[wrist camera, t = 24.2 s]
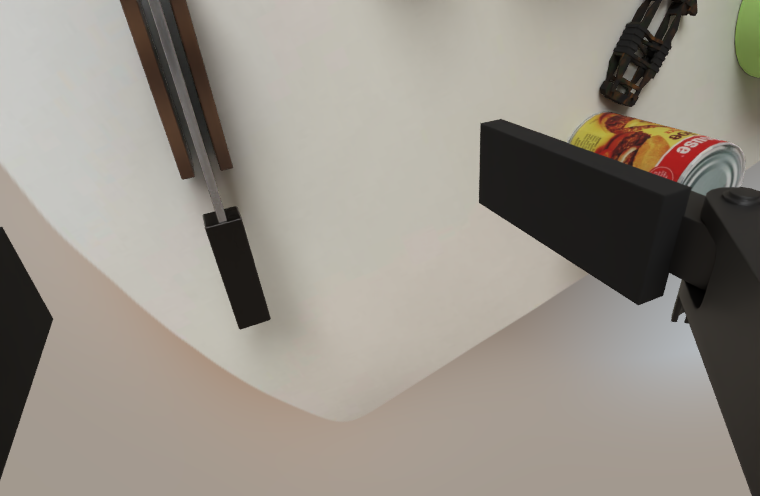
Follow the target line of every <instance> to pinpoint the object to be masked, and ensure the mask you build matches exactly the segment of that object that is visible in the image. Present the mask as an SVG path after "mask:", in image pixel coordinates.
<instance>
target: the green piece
mask: <svg viewBox="0 0 760 496" xmlns="http://www.w3.org/2000/svg"><path fill="white" fill-rule="evenodd" d="M735 47H736V55H737V58H738V61H739V64H740V66H741V67H742V69H743V70H744V71H745V72H746V73H747V74H749V75H750V76H753V77H757V78H760V0H743V1H742V4H741V7H740V10H739V14H738V19H737V24H736V33H735Z"/></svg>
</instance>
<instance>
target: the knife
mask: <svg viewBox="0 0 760 496" xmlns="http://www.w3.org/2000/svg"><path fill="white" fill-rule="evenodd" d="M651 1H655V2H654V3H653V4H652V5H651V7H650V8H649V9H648V10H647V8H648V6H649V4H650V2H651ZM661 1H662V0H645V2H644V3H643V4H642V5H641V6H640V7H639V8H638V10H637V12H636V14H635V16H634V18H633V20H632V22H630V23H629V24H627V25H626V29H625V30H624V31H623V35H622V36H621V37H620V41H619V42H618V43H617V47H616V48H615V49H614V53H613V55H612V57H611V59H610V61H609V69H608V72H607V79H606V81H604V82H603V84H602V86H601V88H600V92H601V94H603V95H604V96H605V97H606V98H608V99H610V100H612V101H614V102H616V103H618V104H622V105H625V106H629V107H632V106H633V105H635V103H636V101H637V99H638V98H639V97H638V95H639V94H640V92H641V90H642V88H643V87H644V86H645V85H646V84H647V83H648V82H649V80H650V79H651V78H652V79H654V77H655V75H656V73H658V72H659V68H660V67H661V66H662V62H663V61H664V60H665V59H666V58H665V56H666V55H668V53H669V52H668V51H669V50H670V49H671V47H672V46H671V41H672V39H673V37H674V36H675V34H676V32H677V30H678V26H679V22H680V18H681V15H687V14H690V15H691V16H696V14H697V0H672V1H674V2H673V3H672V4H671V6H670V8H669V10H668V12H667V14H666V16H665V18H664V19H663V21H662V23H661V25H660V27H659V29H658V31H657V33H656V35H655V37H653V35H652V34H651V33H650V32H649V31H648V30H647V28H648V26H649V24H650V22H651V21H652V19H653V17H654V15H655V13H656V11H657V9H658V7H659V5H660V3H661ZM646 10H647V12H646ZM645 12H646V14H645ZM644 14H645V16H644ZM671 15H676V17H675V19H674V20H673V22H672V24H671V26H670V28H669V30H668V32H667V34H666V35H665V33H666V31H667V28H668V24H669V20H670V16H671ZM643 16H644V18H643ZM642 18H643V20H642ZM641 20H642V22H641ZM664 35H665V37H664V39H663V41H662V38H663V36H664ZM644 37H645V38H647V40H648V41H649V42H648V41H646V40H644V39H643V38H644ZM643 44H645V45H647V46H648V48H647V49H648V50H646V48H645V47H644V45H643ZM638 47H639V48H640V50H641V51H642V53H643V54H644V55H645V56H644V58H642V59H641V58H640V57H638V56H637V55H635V54H634V53H635V51H637V50H638ZM630 61H631V62H632V63H634V64H635V65H637V66H639V67H638V69H637V71H636V73H635V75H634V77H633V79H632V80H631V82H630V81H628V80H626V79H625V78H623V75H624V73H625V71H626V69H627V67H628V65H629V63H630ZM618 65H619V66H618ZM617 67H618V70H617V74H616V77H615V76H613V75H614V73H615V71H616V69H617ZM641 77H643V79H642V81H641V83H640V84H639V86H637V85H635V84H636V83H637V82H638V81H639V79H640V78H641ZM611 80H613V81H614V84H613V83H611V82H610V81H611ZM618 84H620V85H622V86H623V87H625V88H627V90H626V92H625V94H623V93H621V92H619V91H617V90H616V88H617V86H618ZM632 88H633V89H635V90H636V92H635V94H633V93H631V92H630V91H631V90H632Z"/></svg>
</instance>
